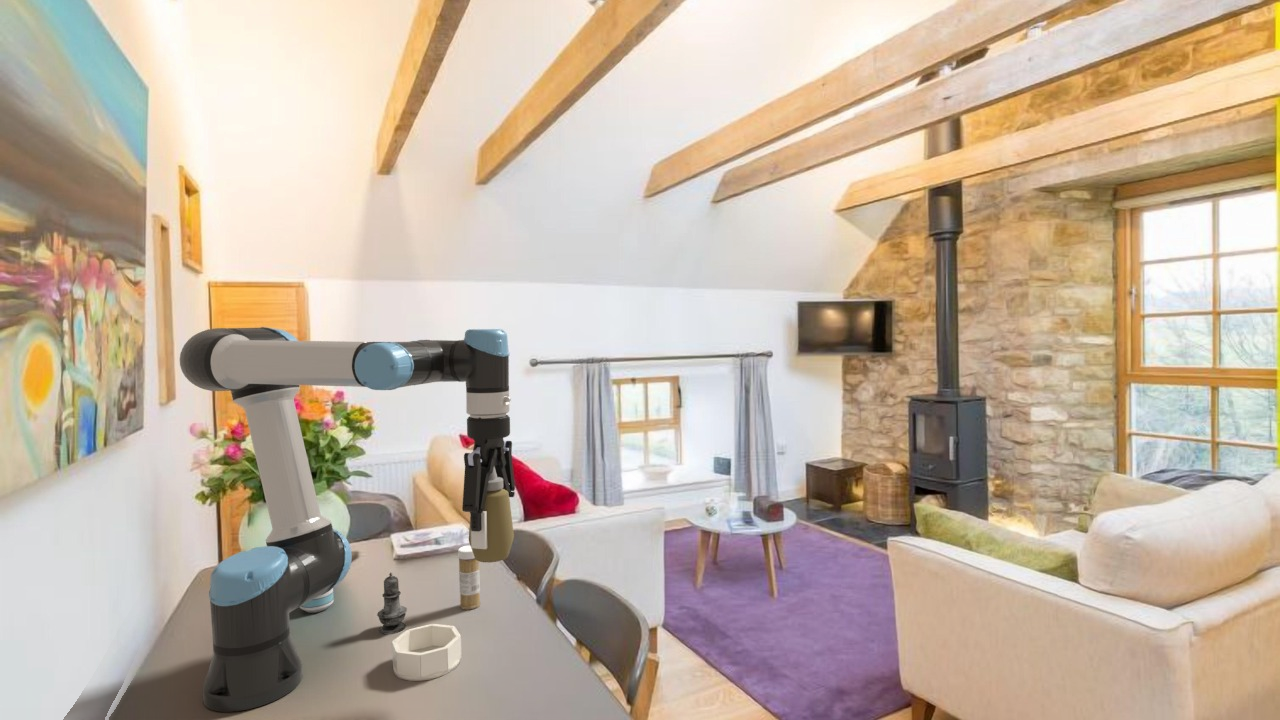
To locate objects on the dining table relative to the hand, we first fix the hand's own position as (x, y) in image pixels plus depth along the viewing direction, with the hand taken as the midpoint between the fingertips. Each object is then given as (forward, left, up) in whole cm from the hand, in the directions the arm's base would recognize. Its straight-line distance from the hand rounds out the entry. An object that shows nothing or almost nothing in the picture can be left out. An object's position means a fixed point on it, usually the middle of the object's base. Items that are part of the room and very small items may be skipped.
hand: (491, 539), depth 117 cm
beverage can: (-26, +49, -25) cm, 61 cm away
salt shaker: (-13, +29, -25) cm, 40 cm away
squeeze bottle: (0, 0, -4) cm, 4 cm away
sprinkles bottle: (+4, +31, -25) cm, 40 cm away
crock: (-10, +10, -25) cm, 28 cm away
